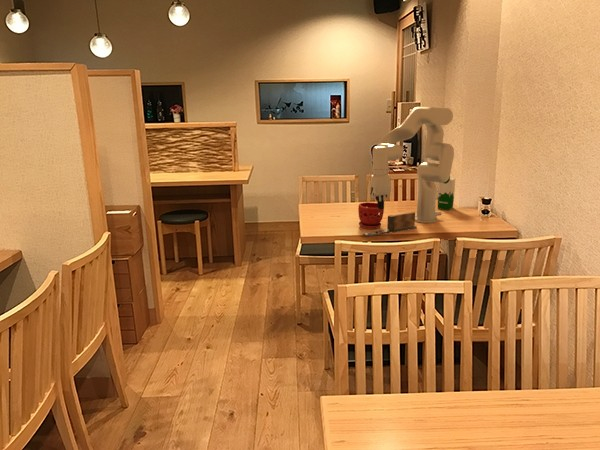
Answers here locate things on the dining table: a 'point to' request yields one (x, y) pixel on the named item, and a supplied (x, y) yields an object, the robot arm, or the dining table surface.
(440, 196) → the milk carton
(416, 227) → the screen rail
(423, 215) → the robot arm
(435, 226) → the dining table surface
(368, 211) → the plant pot
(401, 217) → the walnut screen
